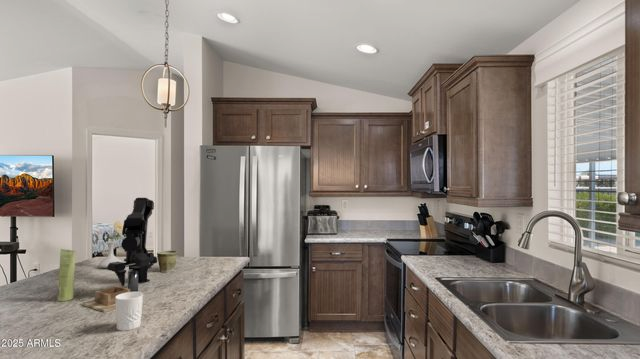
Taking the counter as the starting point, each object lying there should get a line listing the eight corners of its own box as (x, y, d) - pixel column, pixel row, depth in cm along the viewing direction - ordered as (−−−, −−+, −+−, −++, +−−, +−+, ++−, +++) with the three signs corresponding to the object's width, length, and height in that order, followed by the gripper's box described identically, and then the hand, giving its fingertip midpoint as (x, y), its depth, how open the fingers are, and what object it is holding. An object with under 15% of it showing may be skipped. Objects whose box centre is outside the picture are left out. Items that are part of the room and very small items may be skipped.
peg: (125, 292, 143) (125, 271, 143) (134, 290, 147) (134, 269, 147) (131, 294, 141) (131, 272, 141) (140, 291, 145) (140, 270, 145)
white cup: (121, 321, 113) (122, 291, 113) (146, 321, 114) (147, 291, 114) (109, 332, 105) (110, 299, 105) (135, 331, 106) (136, 299, 106)
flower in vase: (104, 270, 178) (105, 222, 179) (94, 267, 184) (95, 221, 185) (129, 266, 189) (130, 221, 190) (119, 263, 195) (120, 219, 196)
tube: (76, 296, 137) (77, 248, 138) (73, 300, 133) (75, 250, 133) (59, 298, 135) (60, 248, 135) (55, 302, 130) (57, 251, 130)
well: (82, 305, 128) (83, 292, 128) (119, 294, 140) (120, 283, 140) (104, 312, 121) (104, 298, 121) (141, 300, 133) (141, 288, 134)
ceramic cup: (172, 273, 175) (172, 254, 175) (152, 273, 175) (153, 253, 175) (182, 267, 188) (183, 249, 188) (164, 267, 188) (165, 249, 188)
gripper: (123, 252, 132) (122, 292, 132) (165, 245, 149) (164, 281, 148) (107, 249, 138) (106, 288, 137) (149, 242, 154) (148, 277, 154)
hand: (133, 283), depth 144 cm, fingers open, 8 cm apart
